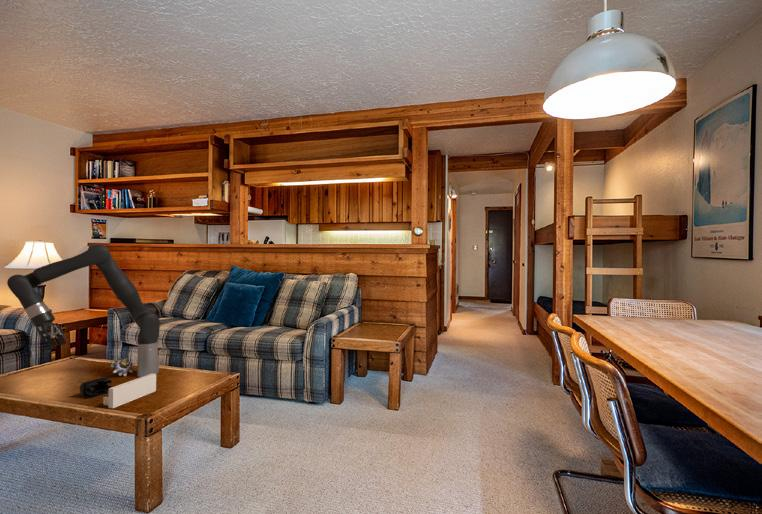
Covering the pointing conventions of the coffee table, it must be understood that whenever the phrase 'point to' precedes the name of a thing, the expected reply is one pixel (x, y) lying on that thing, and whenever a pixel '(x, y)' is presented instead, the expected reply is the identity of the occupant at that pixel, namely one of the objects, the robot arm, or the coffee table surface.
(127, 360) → the passion flower
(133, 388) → the white board with feet
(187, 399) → the coffee table surface
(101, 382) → the end cap
